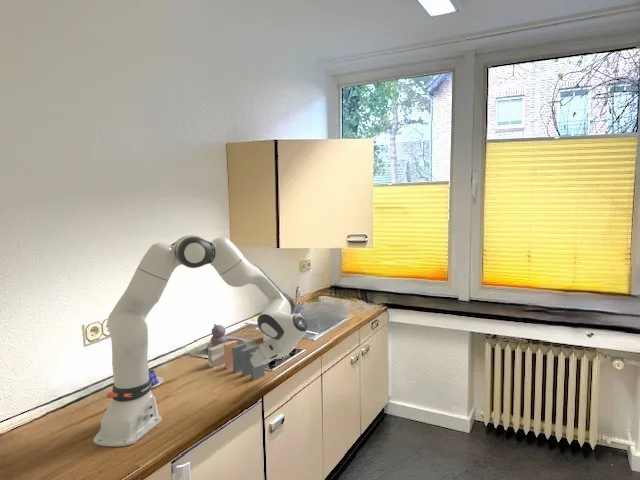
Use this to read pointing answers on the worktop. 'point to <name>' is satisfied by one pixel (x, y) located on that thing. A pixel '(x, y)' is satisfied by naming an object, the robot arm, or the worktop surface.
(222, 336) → the cat figurine
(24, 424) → the worktop surface
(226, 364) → the end domino
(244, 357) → the domino
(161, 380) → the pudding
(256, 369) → the domino
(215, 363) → the stop
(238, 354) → the domino
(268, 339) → the medicine bottle
